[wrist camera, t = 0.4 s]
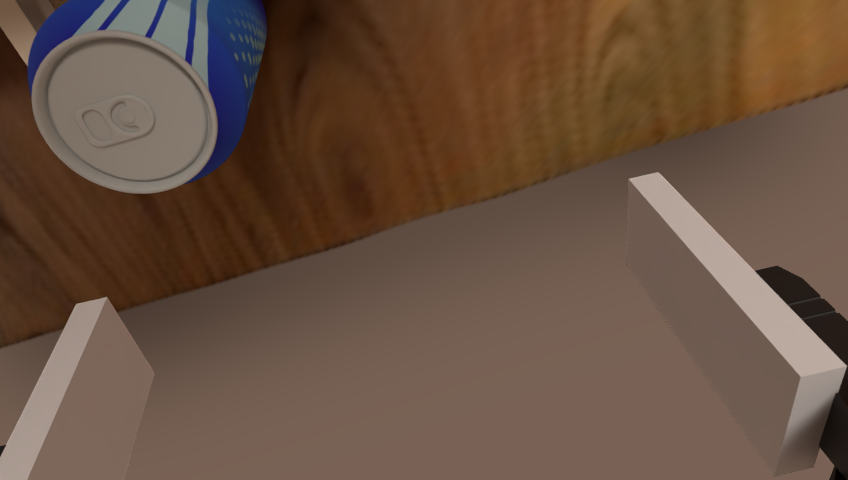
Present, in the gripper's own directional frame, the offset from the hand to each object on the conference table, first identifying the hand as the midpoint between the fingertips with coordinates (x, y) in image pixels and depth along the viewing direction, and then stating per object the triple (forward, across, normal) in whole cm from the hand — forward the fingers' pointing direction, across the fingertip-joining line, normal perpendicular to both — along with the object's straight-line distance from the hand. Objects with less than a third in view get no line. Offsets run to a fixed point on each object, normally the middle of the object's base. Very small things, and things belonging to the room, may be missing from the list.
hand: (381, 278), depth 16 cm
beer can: (+27, -9, +2) cm, 29 cm away
